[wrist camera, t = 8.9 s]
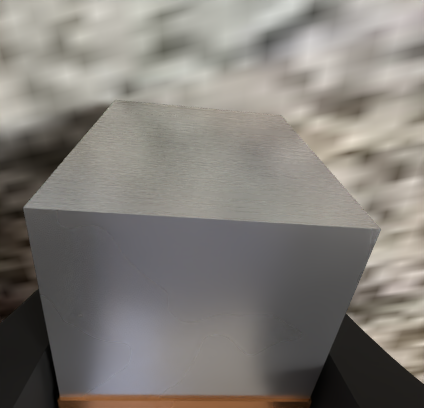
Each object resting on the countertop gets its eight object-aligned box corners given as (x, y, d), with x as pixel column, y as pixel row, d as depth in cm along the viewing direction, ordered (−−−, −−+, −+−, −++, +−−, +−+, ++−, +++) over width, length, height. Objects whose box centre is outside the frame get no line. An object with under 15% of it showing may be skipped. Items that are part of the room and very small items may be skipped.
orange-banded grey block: (236, 335, 12) (262, 516, 8) (122, 332, 12) (82, 521, 7) (281, 115, 8) (385, 231, 4) (114, 99, 8) (18, 210, 4)
